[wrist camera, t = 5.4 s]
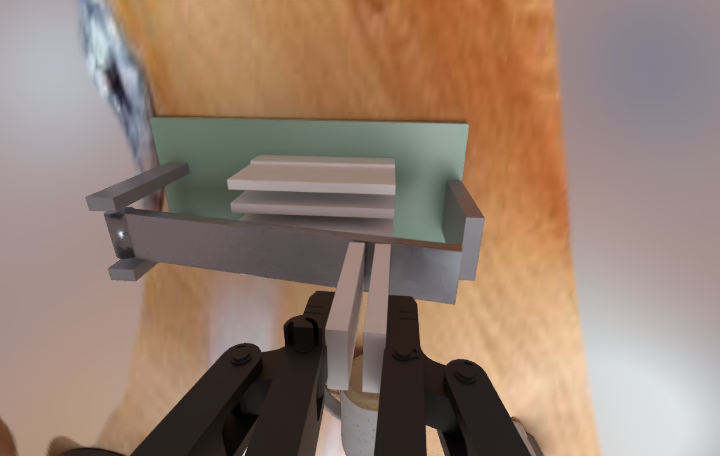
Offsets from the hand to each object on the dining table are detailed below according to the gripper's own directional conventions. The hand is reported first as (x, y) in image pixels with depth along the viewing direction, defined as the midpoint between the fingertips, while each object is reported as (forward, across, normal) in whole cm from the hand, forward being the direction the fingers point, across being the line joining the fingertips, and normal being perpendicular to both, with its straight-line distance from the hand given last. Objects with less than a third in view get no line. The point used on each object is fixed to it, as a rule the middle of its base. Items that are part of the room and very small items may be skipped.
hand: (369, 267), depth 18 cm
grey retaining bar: (+2, -6, 0) cm, 6 cm away
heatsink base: (+11, -6, 0) cm, 12 cm away
